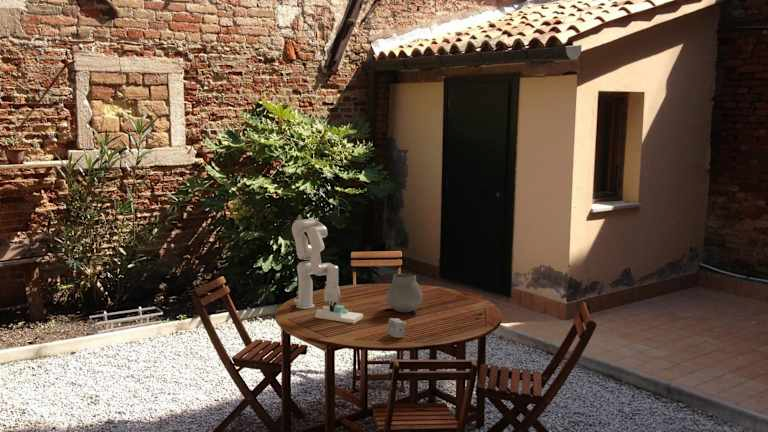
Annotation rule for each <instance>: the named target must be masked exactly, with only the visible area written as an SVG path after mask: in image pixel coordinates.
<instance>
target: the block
mask: <svg viewBox="0 0 768 432" xmlns="http://www.w3.org/2000/svg"><path fill="white" fill-rule="evenodd" d="M344 309H345V305H342V304H341V305H340V304H336V305H335V307H334V312H337V313H342V314H344Z"/></svg>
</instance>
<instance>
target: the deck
mask: <svg viewBox="0 0 768 432" xmlns="http://www.w3.org/2000/svg"><path fill="white" fill-rule="evenodd" d="M322 307H323V308H322V309H316V313H314V318H317V319H322V320H329V321H330V320H331V321H335V322H336V321H337V322H343V323H349V324H356V323H357V322H359V321H360V320H362V319H363V318H364V313H360V312H352V311H349V309H345V308H344V314H342V313H337V312H334V311H333V312H330V306H326V305H325V306H324V305H323V306H322Z"/></svg>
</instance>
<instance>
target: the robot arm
mask: <svg viewBox="0 0 768 432" xmlns="http://www.w3.org/2000/svg"><path fill="white" fill-rule="evenodd" d="M291 232H292V233H291V234H292V236H293V239H294V243H295V248H296V249H295V250H296V255H297V258H298V259H299V260H304V261H300V262H299V263H298V264H297V266H296V269H297V270H296V271H297V276H298V299H297V298H294V299H293V303H296V305H295V306H296V308H297V309H301V310H302V309H303V310H309V309H313V308H315V307H316V306H315V303H313V297H314V296H313V293H314V291H313V288H314V286H313V279H312V276H311V275H315V276H317V277H318V276H319V277H320V276H326V281H324V284H325V286H324V291H323V300H324V302H325V303H327V304H328V307H330V312H333V311H334V307H335V306H336V305H340V304H341V301H340V300H341V291H340V286H339V266H338V265H336V264H332V263H331V262H324V263H322V259H321V258H322V257H321V252H322V251H324V249H325V244H324V240H323V239H324V238H327V236H328V228H327V227H326V226H325V225H324V224H323V223H321V222H320V221H319V220H318V219H316V218H307V219H306V218H305V219H298V220H296V221H294V222H293V223H292V226H291ZM305 233H306V234H305ZM306 235H307V236H306Z"/></svg>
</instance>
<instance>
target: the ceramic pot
mask: <svg viewBox="0 0 768 432" xmlns="http://www.w3.org/2000/svg"><path fill="white" fill-rule="evenodd" d="M392 277H393V278H392V282H391V283H390V284H389V286H388V288H387V291H386V293H385V295H386V301H387V303H388V304H389V306H390V307H391V308H392V309H393V310H395V311H396V312H400V313H411V312H413V311H414V310H416V309H417V308H418V307H419V306H420V305H421V303H422V302H423V293H422V288H421V286H420V285H419V283H418V282H417V276H416V275H415V274H408V273H395V274H393V276H392Z"/></svg>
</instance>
